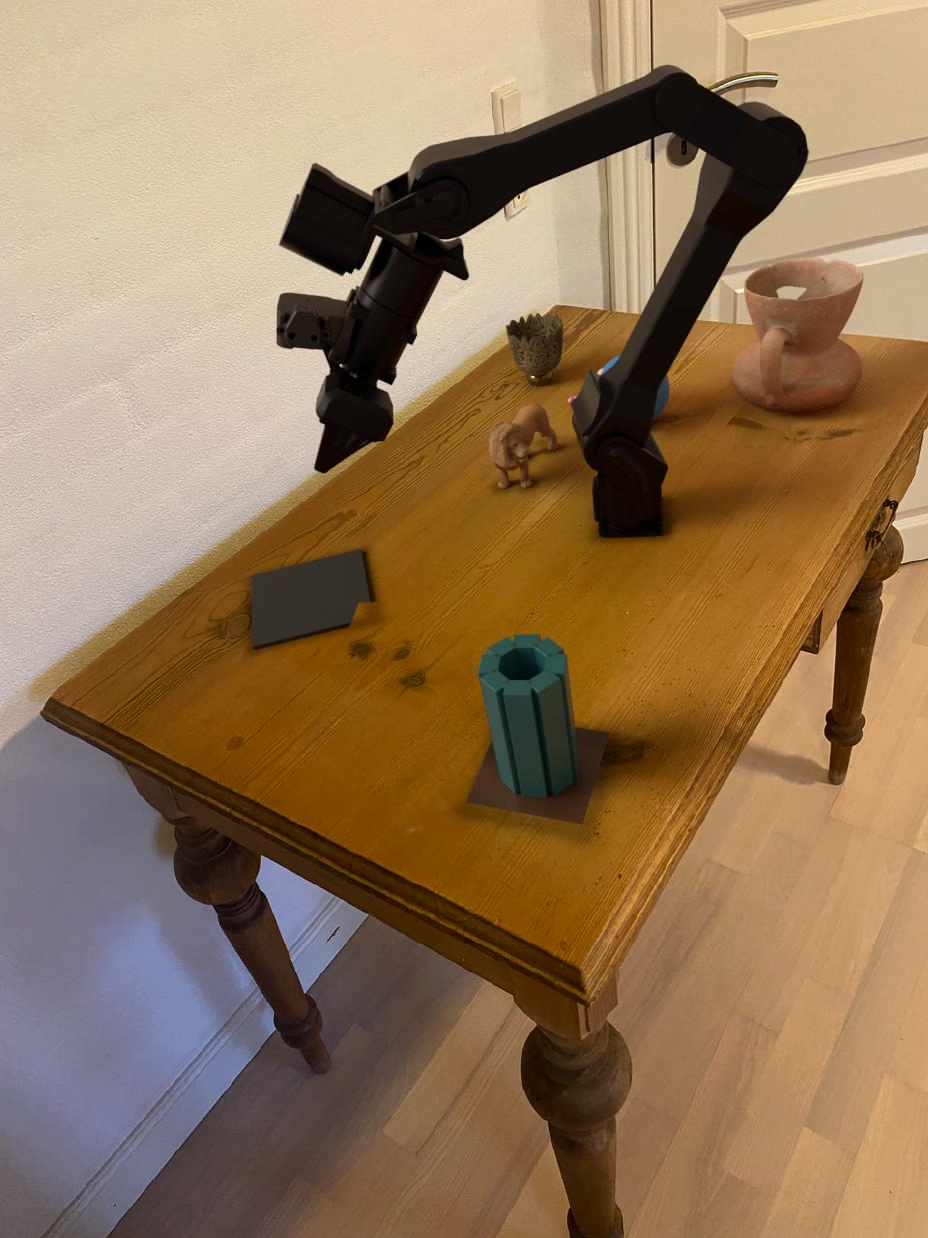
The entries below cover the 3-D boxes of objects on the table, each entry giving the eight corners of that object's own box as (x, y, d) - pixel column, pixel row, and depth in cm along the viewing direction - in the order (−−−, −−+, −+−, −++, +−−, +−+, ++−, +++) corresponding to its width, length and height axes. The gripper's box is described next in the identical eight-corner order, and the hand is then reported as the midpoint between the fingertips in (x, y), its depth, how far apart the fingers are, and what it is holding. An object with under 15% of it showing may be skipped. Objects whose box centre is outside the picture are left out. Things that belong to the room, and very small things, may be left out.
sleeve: (580, 737, 70) (569, 633, 63) (575, 799, 65) (561, 695, 58) (505, 736, 71) (486, 634, 64) (495, 796, 67) (472, 694, 60)
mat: (362, 551, 96) (361, 548, 96) (374, 619, 87) (373, 616, 87) (253, 577, 95) (252, 575, 95) (253, 649, 86) (252, 646, 86)
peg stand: (503, 723, 74) (493, 672, 70) (610, 740, 70) (606, 687, 67) (467, 810, 68) (453, 759, 64) (582, 833, 64) (576, 780, 60)
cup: (570, 389, 116) (564, 331, 111) (514, 397, 117) (506, 339, 112) (566, 365, 122) (560, 308, 117) (512, 372, 123) (505, 316, 118)
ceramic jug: (764, 356, 115) (771, 244, 106) (880, 373, 107) (898, 253, 98) (699, 421, 105) (701, 304, 96) (822, 445, 97) (836, 319, 88)
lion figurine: (533, 507, 97) (524, 434, 91) (487, 505, 99) (475, 433, 93) (563, 438, 107) (556, 368, 102) (520, 437, 109) (511, 369, 103)
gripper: (309, 222, 80) (250, 369, 89) (295, 296, 66) (226, 463, 74) (419, 278, 84) (353, 414, 93) (428, 359, 70) (349, 511, 78)
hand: (321, 446), depth 85 cm, fingers open, 9 cm apart
